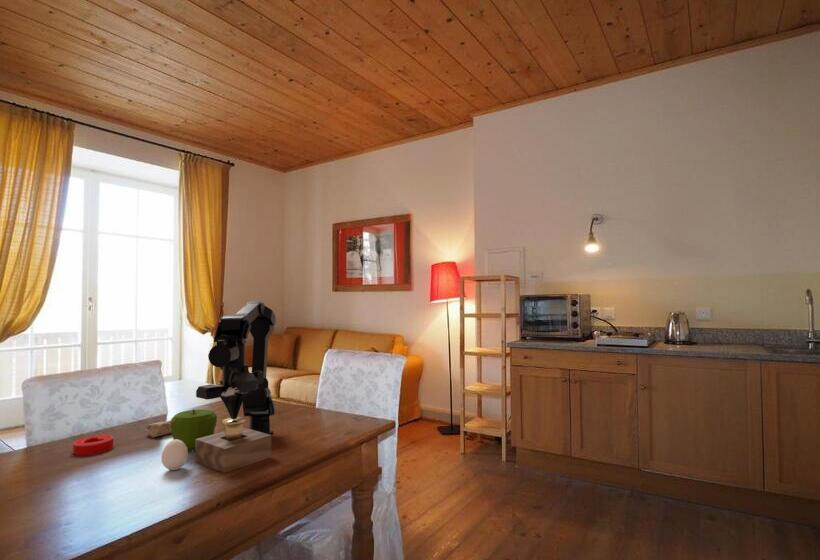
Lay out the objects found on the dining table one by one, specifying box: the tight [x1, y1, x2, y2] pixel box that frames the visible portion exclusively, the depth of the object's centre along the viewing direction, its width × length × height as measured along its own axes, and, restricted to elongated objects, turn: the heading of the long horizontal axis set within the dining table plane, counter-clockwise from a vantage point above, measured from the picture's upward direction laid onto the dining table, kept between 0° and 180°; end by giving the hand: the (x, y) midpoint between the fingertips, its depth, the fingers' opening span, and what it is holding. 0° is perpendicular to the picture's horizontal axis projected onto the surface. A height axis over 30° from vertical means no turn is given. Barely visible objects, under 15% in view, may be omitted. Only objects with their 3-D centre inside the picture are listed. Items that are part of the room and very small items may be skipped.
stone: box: [145, 419, 172, 439], centre depth 148 cm, size 8×10×4 cm
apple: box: [170, 408, 218, 452], centre depth 134 cm, size 12×12×11 cm
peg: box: [221, 416, 246, 441], centre depth 123 cm, size 6×6×6 cm
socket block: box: [194, 426, 272, 474], centre depth 123 cm, size 14×14×6 cm
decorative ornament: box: [72, 434, 114, 456], centre depth 133 cm, size 10×10×3 cm
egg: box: [160, 439, 189, 471], centre depth 116 cm, size 6×6×8 cm
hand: (233, 418), depth 123 cm, fingers closed
